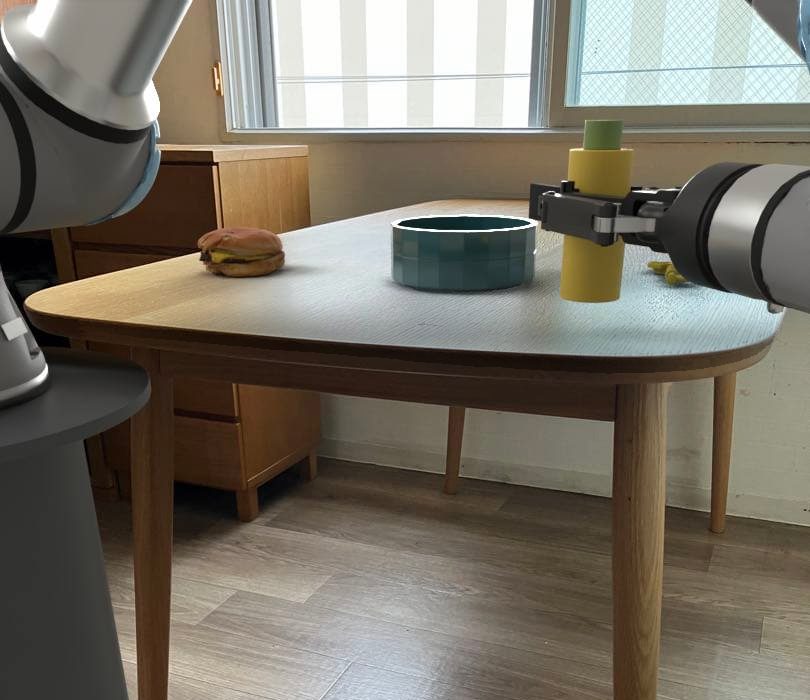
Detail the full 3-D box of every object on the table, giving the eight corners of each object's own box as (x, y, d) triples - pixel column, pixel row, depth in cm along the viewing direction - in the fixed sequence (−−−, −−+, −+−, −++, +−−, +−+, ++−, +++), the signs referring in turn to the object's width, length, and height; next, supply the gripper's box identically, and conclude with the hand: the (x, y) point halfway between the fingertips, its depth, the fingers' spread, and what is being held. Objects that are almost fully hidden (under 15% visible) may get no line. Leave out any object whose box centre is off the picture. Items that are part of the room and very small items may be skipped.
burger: (283, 263, 108) (280, 222, 106) (287, 275, 100) (284, 232, 98) (201, 266, 107) (196, 225, 105) (198, 279, 98) (193, 235, 96)
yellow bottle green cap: (550, 299, 71) (562, 120, 65) (571, 290, 75) (584, 119, 69) (608, 305, 69) (626, 120, 63) (627, 295, 73) (645, 119, 67)
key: (694, 274, 90) (643, 272, 91) (692, 287, 90) (642, 285, 91) (694, 259, 100) (649, 257, 101) (693, 271, 100) (647, 269, 102)
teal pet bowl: (365, 287, 93) (363, 226, 90) (433, 266, 105) (434, 213, 102) (497, 299, 86) (500, 234, 83) (555, 276, 98) (558, 218, 95)
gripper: (619, 305, 52) (463, 252, 72) (855, 285, 58) (650, 241, 78) (633, 168, 49) (465, 152, 69) (882, 161, 55) (660, 148, 74)
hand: (563, 199), depth 73 cm, fingers closed on yellow bottle green cap, 5 cm apart
